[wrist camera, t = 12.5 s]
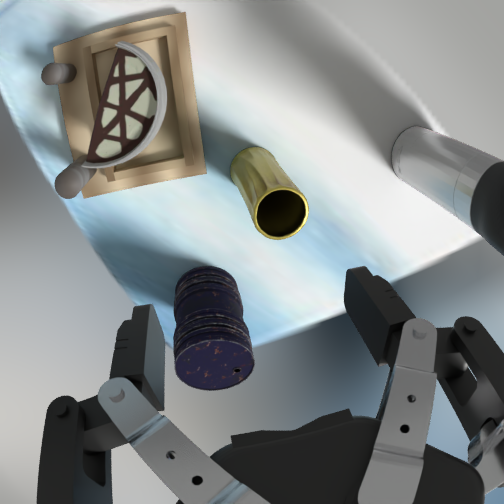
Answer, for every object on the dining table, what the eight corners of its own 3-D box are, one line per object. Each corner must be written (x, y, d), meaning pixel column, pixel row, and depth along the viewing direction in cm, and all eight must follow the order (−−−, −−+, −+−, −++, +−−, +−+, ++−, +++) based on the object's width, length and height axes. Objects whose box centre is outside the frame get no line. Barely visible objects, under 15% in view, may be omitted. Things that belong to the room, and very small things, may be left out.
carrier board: (185, 15, 30) (183, -3, 22) (206, 169, 40) (209, 193, 32) (58, 48, 28) (26, 44, 20) (88, 193, 38) (66, 222, 31)
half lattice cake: (154, 160, 36) (142, 187, 28) (106, 147, 34) (80, 171, 26) (188, 61, 31) (185, 54, 23) (136, 48, 29) (117, 38, 21)
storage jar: (168, 310, 50) (166, 385, 38) (183, 258, 46) (183, 332, 33) (227, 321, 53) (240, 394, 41) (247, 273, 49) (268, 345, 37)
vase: (237, 197, 43) (257, 252, 31) (224, 154, 39) (239, 193, 27) (281, 184, 43) (318, 233, 31) (270, 140, 40) (307, 173, 27)
